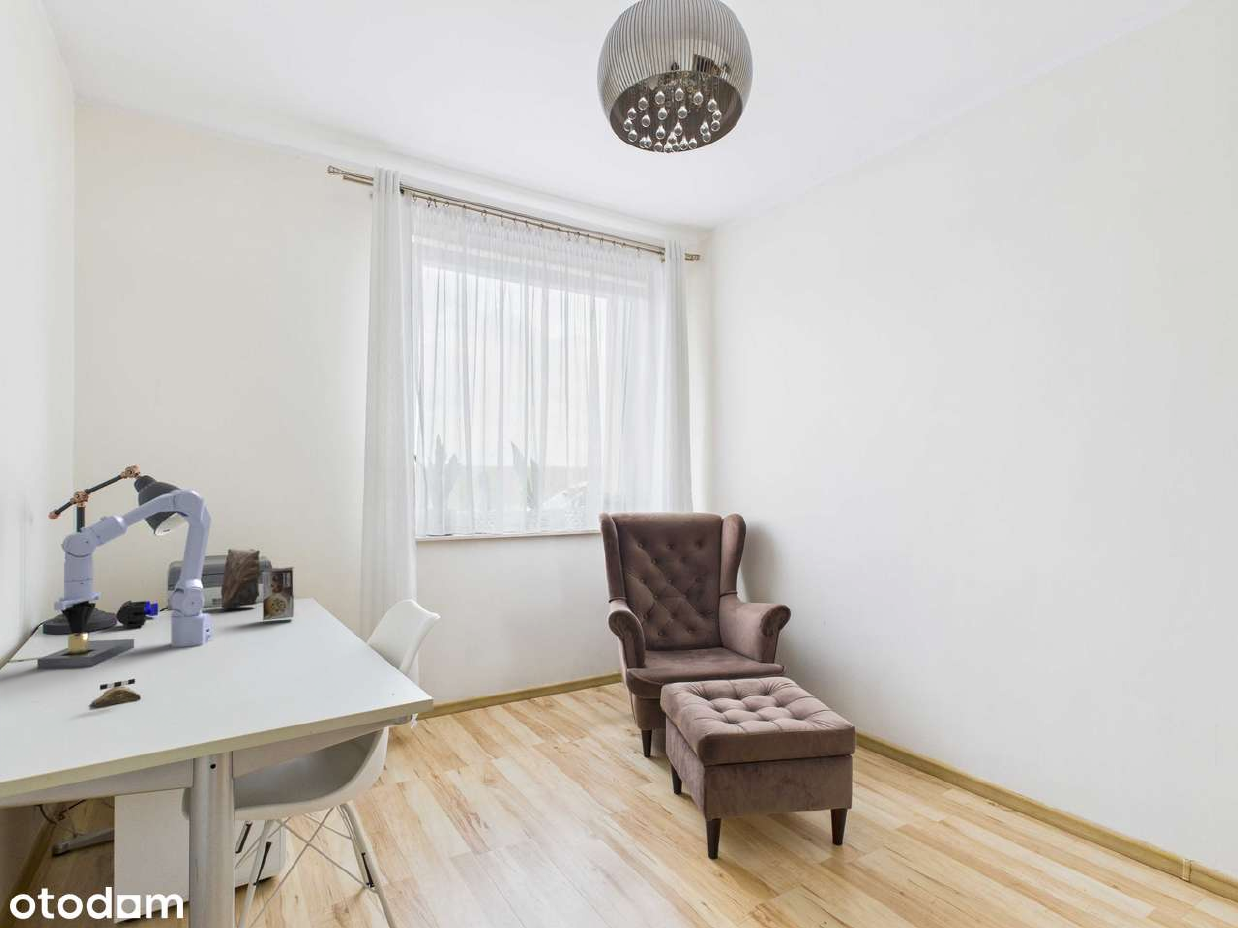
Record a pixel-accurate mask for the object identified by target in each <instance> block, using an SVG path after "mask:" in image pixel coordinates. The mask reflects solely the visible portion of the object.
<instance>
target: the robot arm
mask: <svg viewBox="0 0 1238 928" xmlns="http://www.w3.org/2000/svg"><path fill="white" fill-rule="evenodd" d="M163 512H169V513H170V512H174V513H176V514H178V515H180V516H181V517H182V518H183V519H184V520H185V521H186V522H187V523H188V529H187V535H186V541H185V546H184V552H183V558H182V564H181V570H180V574H179V579H178V581H176V584H175V586H174V587H175V588H174V589H173V592H172V593H171V594H170V596H169V599H168V604H169V606H170V608H171V609H172V613H171V614H170V615H171V618H170V619H171V622H170V623H171V626H170V628H171V629H170V630H171V633H170V634H171V636H170V637H171V641H170V642H171V646H172V647H176V648H177V647H188V646H204V645H206V644H208V643H210V642H214V640H215V639H213V624H214V623H213V617H212V614H210V613H203V608H204V607H205V603H206V600H205V597H204V585H203V582H202V575H203V571H204V565H205V559H206V553H207V547H208V541H209V535H210V529H211V525H212V517H211V514H210V513H209V509H208V507H207V505H206V504H205V498H204V497H202V496H201V495H200V494H198V493H197V491H194V490H191V489H186V490H184V489H183V490H182V489H174V490H171V491H169V492H168V493H163V494H161V495H158V496H157V497H155V498H153V499H150V500H149V501H147V502H145V503H144V504H143V503H142V504H141V505H139V506H138V507H136V508H134V509H132V510H130V511H128V512H126V513H124V514H123V515H120V516H117V515H109V516H107V515H103V516H102V517H100V518H99V520H98V521H97V522H96V523H93V524H91V525H89V526H87V527H86V526H83V527H80V530H79V531H78V532H72V533H70V534H68V535H66V536H65V538H64V539H63V541H62V543H61V549H62V550H63V552H64V562H63V597H59V598H58V601H55V602H54V603H53V610H54V611H60V612H61V613H62V614H63V615H64V617H65V619H66V620H67V622H68V625H69V628H70V632H71V633H72V634H81V633H85V630H86V628H87V624H88V622H89V619H90V616H91V615H92V612H93V611H94V609H95V608H96V602H93V601H99V600H101V598H102V597H101V596H102V592H101V591H94V560H93V552H95V550H96V548H97V547H102V546H103V545H105V544H108V543H109V542H111V541H113V540H115V539H117V538H119V537H121V536H123V535H125V533H126V532H127V529H128V527H130V526H131V525H134V524H136V523H138V522H142V520H145V519H147V518H150V517H151V516H153V515H156V514H159V513H163Z"/></svg>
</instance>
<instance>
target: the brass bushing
mask: <svg viewBox="0 0 1238 928" xmlns="http://www.w3.org/2000/svg"><path fill="white" fill-rule="evenodd" d="M67 640H68V641H67V642H68V643H67V648H68V656H72V655H84V654H87V653H88V641H89V632H84V633H81V634H69V635H68V636H67Z"/></svg>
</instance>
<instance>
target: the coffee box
mask: <svg viewBox="0 0 1238 928" xmlns="http://www.w3.org/2000/svg"><path fill="white" fill-rule="evenodd" d="M294 568H295V567H294V566H291V567H290V566H289V567H276V568H275V567H274V568H273V567H272V568H264V570H263V571H262V599H263V601H262V605H263V606H262V610H263V611H262V613H263V614H262V615H263V619H262V620H263V621H268V620H278V619H289V618H290V619H291V618H294V617H295V584H294V583H295V577H294V573H295V570H294Z"/></svg>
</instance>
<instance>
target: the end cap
mask: <svg viewBox="0 0 1238 928" xmlns="http://www.w3.org/2000/svg"><path fill="white" fill-rule="evenodd" d="M146 601H147V600H146ZM146 601H145V600H143V601H133V602H132V600H128V601H125V602H124V603H123V604H121V606H120V608H119V609H118V610H117V612H116V615H115V617H116V620H117V622H118V623H119V624H121V625H123V626H125V627H128V628H129V627H137V626H138V627H139V626H144V625H145V623H146V622H147V615H146V611H144V607H146Z"/></svg>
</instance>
